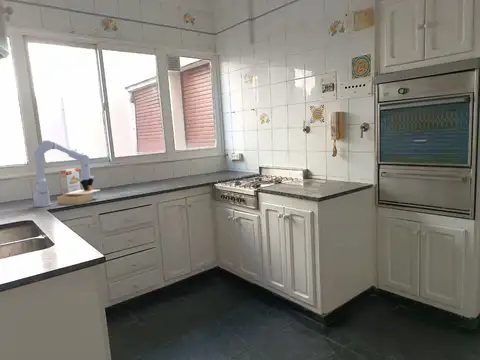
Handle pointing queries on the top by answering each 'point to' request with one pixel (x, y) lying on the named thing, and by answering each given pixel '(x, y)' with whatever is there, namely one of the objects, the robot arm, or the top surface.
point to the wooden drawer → (74, 198)
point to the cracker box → (69, 180)
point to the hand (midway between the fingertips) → (87, 189)
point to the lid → (84, 191)
